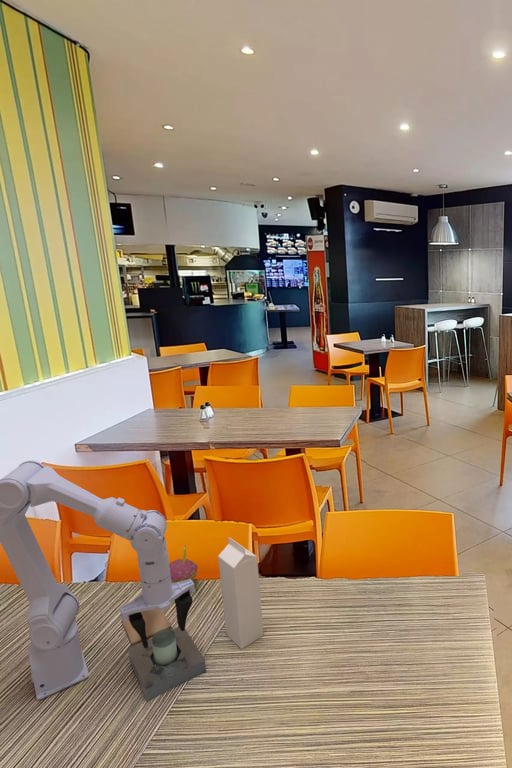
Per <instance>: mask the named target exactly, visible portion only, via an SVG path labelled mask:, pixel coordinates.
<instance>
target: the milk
mask: <svg viewBox="0 0 512 768" xmlns="http://www.w3.org/2000/svg"><path fill="white" fill-rule="evenodd" d="M227 539H228V544H227V545H226V546H225V547H224V549H222V551H221V552H220V553H219V555H217V556H218V557H217V558H218V567H219V568H218V569H219V576H220V577H219V579H220V588H221V596H222V597H221V598H222V608H223V616H224V625H225V626H224V627H225V634H226V635H227V636H228V638H230V639H231V641H232V642H233V643H235V644H236V646H238V647H239V648H240V649H241V650H242V649H244V648H245V647H248V646H249V645H250V644H253V643H254V642H256V641H257V640H258V639H260V638H262V637H263V636H264V625H263V615H262V614H263V613H262V611H263V610H262V601H261V600H262V599H261V589H260V577H259V564H258V556H257V555H256V554H255V553H252V552H251V551H250V550H248V549H247V548H245V547H244V546H243V545H241V544H240V543H239V542H237V541H235V540H234V539H233V538H231V537H228V538H227Z"/></svg>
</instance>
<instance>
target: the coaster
mask: <svg viewBox="0 0 512 768" xmlns="http://www.w3.org/2000/svg"><path fill="white" fill-rule="evenodd" d="M141 614H142V615H143V619H144V621H145V629H146V637H147V640H149V639H152V637H153V635H154V634H155V633H156V632H158V631H159V630H162V629H171V630H172V629H173V627H172V624H171V623H170V621H169V619H168V618H167V615H166V614H165V613H164V610H162V611H160V610H159V609H153V610H148V611H143V612H141ZM120 621H121V623H122V625H123V628H124V630H125V633H126V635H127V637H128V639H129V641H130V644H131V647H134V646H136V645H138V644H141V643H142V642H141V638H140V636H139V634H138V633H137V632H136V630H135V629H134V628H133V627H132V625H131V623H130V621H129V620H127V621H125V622H124V621H123V619H122V618H121V620H120Z"/></svg>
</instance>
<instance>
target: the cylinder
mask: <svg viewBox="0 0 512 768" xmlns="http://www.w3.org/2000/svg"><path fill="white" fill-rule="evenodd" d="M151 639H152V646H153V653H154V661H155V662H154V665H157V666H164V667H165V666H167V665H169V664H171V663H173V662H175V661H177V659H178V657H179V655H178V654H177V646H176V638H175V633H174V631H173V630H172V628H171V629H162V630H159V631H158V632H156V633H155V634H154V635H153V637H151Z"/></svg>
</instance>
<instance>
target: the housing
mask: <svg viewBox="0 0 512 768" xmlns="http://www.w3.org/2000/svg"><path fill="white" fill-rule="evenodd" d="M171 630H173V631H174V633H175V638H176V646H177V654H178V659H177V661H175V662H173V663H171V664H169V665H167V666H165V667H164V666H157V665H155V661H154V653H153V646H152V638H149V639H147V642H148V647H147V648H144V646H143V644H142V642H140V643H138V644H135V645H133V646H131V647H130V648H128V649H127V651H128V656H129V658H128V659H129V661H130V663H131V666H132V668H133V671H134V673H135V676H136V678H137V680H138V683H139V686H140V688H141V690H142V692H143V693H142V694H143V695H144V698H145V699H146V702H148V701H151V700H153V699H155V698H157V697H159V696H160V695H162V694H165V693H166V692H169V691H170V690H172V689H174V688H176V687H178V686H180V685H181V684H184V683H185V682H187V681H190V680H191V679H193V678H195V677H198V676H199V675H202V674H203V673H204V672H207V665H206V659H205V657H204V656H203V655H202V653H201V652H200V650H199V649H198V646H197V645H196V644H195V643H196V642H194V641H193V639H192V637H191V635H190V634H189V633H188V631H187V629H186V628H185V630H184V631H181V629H180V628H179V626H178V625H177V626H176V627H174V628H171Z"/></svg>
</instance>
